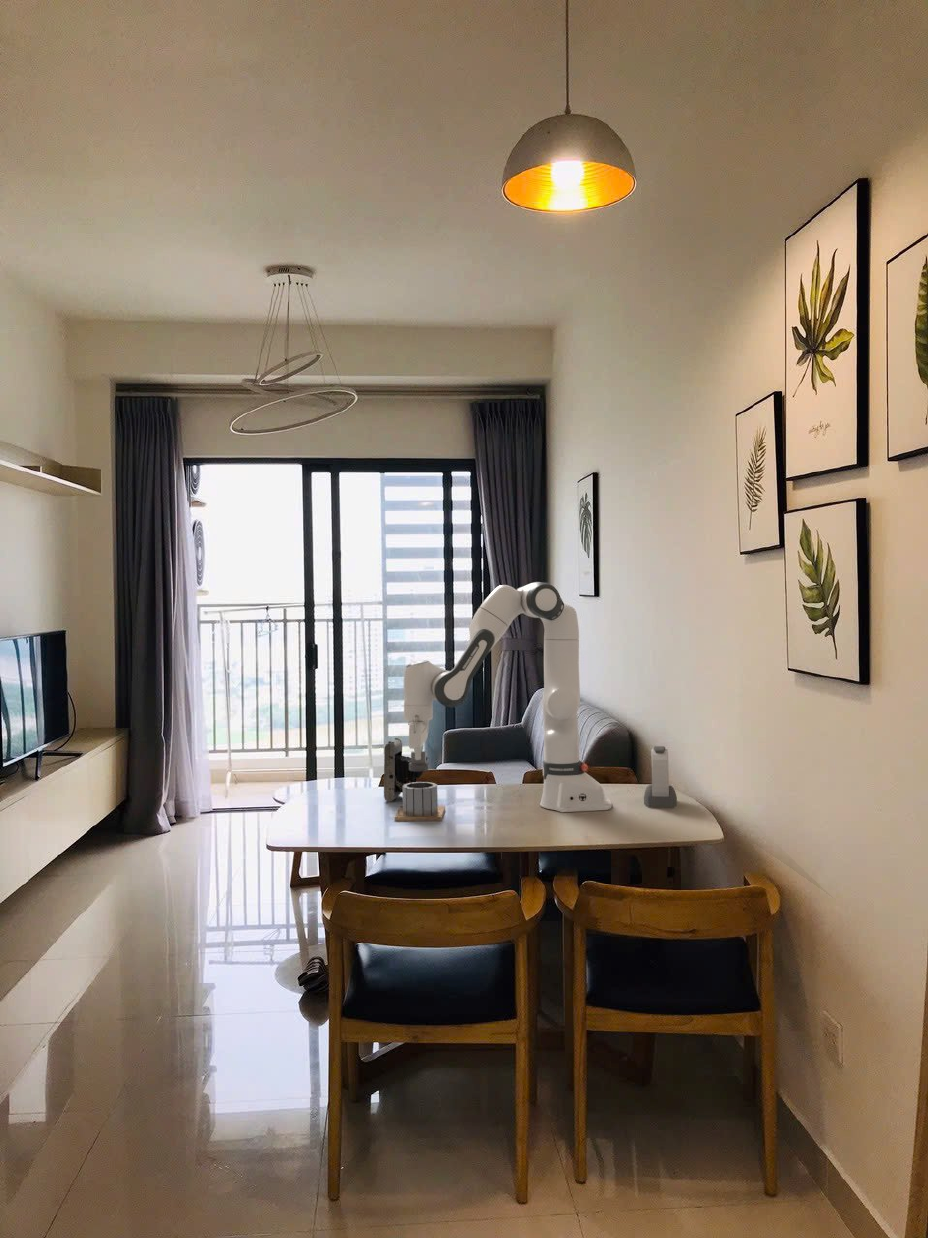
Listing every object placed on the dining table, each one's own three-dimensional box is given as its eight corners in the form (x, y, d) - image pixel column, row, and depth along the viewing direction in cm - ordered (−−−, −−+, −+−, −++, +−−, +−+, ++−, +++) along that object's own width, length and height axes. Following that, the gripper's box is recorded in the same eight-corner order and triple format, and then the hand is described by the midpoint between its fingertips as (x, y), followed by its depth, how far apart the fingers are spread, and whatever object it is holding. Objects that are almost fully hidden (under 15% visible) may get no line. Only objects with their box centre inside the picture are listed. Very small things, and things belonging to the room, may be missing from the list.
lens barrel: (445, 809, 278) (444, 780, 278) (441, 821, 264) (440, 790, 264) (401, 810, 279) (400, 781, 279) (394, 821, 265) (394, 790, 265)
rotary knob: (429, 767, 274) (429, 750, 274) (427, 771, 268) (427, 753, 268) (410, 767, 275) (410, 750, 275) (407, 771, 269) (407, 753, 269)
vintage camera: (428, 804, 288) (429, 743, 287) (382, 801, 291) (384, 741, 291) (435, 798, 297) (436, 739, 297) (391, 796, 300) (392, 737, 300)
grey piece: (644, 797, 290) (643, 742, 290) (676, 798, 288) (675, 742, 287) (643, 809, 274) (642, 750, 274) (677, 810, 272) (676, 751, 272)
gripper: (424, 718, 261) (425, 765, 261) (431, 709, 281) (432, 753, 281) (403, 718, 261) (404, 765, 261) (412, 709, 281) (412, 753, 282)
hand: (418, 758), depth 271 cm, fingers closed on rotary knob
